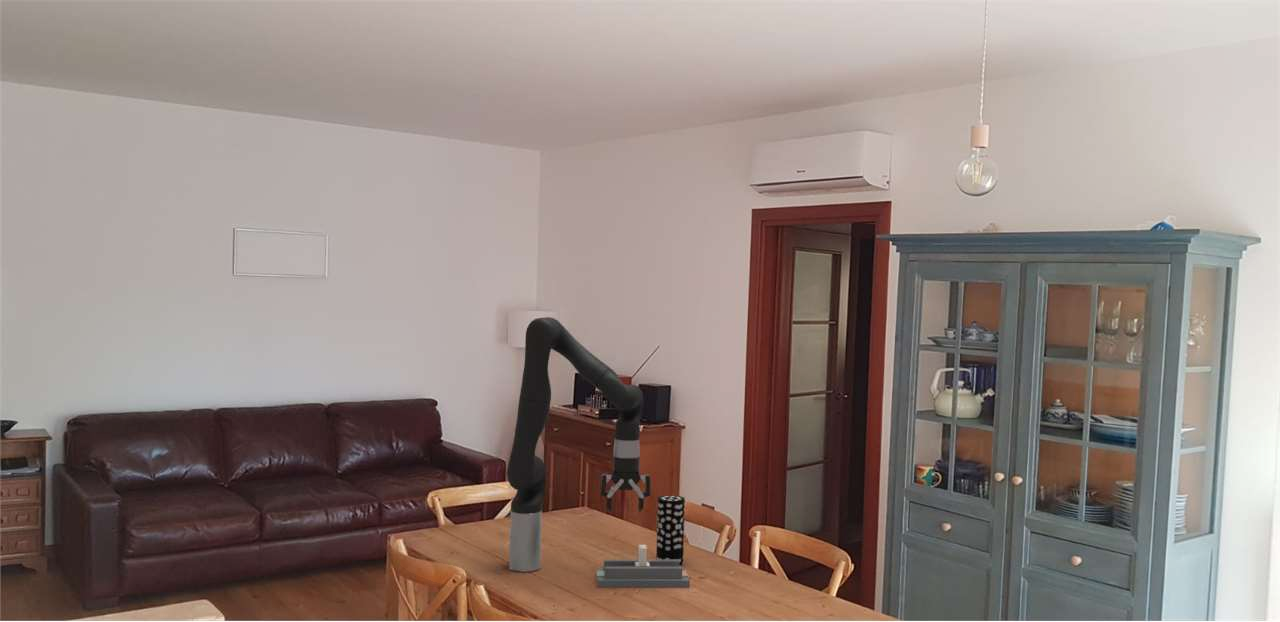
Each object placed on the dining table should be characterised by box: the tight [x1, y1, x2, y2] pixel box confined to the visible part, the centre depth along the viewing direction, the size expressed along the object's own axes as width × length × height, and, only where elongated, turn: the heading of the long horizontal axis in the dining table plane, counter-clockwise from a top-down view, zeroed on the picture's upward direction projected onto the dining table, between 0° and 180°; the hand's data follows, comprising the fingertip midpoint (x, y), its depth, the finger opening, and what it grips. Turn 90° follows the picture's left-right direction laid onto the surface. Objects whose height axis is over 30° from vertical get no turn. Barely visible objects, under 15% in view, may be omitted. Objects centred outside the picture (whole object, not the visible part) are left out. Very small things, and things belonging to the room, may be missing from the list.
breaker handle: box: [635, 544, 650, 566], centre depth 273 cm, size 4×4×8 cm
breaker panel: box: [595, 558, 691, 589], centre depth 273 cm, size 26×12×5 cm, turn 94°
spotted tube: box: [655, 494, 686, 567], centre depth 291 cm, size 8×8×20 cm
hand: (624, 510), depth 273 cm, fingers open, 8 cm apart
